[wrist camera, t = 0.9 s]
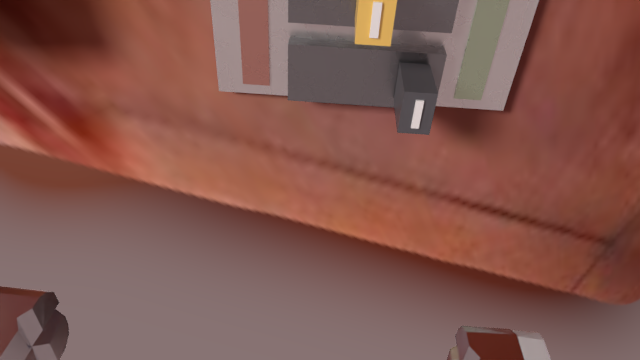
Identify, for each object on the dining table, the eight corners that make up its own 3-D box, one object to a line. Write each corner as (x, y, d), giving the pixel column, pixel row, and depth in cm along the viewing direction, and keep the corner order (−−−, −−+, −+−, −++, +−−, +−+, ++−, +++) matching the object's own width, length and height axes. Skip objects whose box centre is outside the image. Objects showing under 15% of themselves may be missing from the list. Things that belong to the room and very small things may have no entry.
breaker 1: (359, -31, 35) (359, -8, 31) (393, -29, 35) (398, -6, 31) (354, 18, 37) (354, 45, 33) (386, 20, 37) (390, 47, 33)
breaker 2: (399, 62, 39) (404, 92, 35) (430, 64, 39) (438, 95, 35) (393, 100, 42) (397, 133, 38) (422, 102, 42) (429, 136, 38)
